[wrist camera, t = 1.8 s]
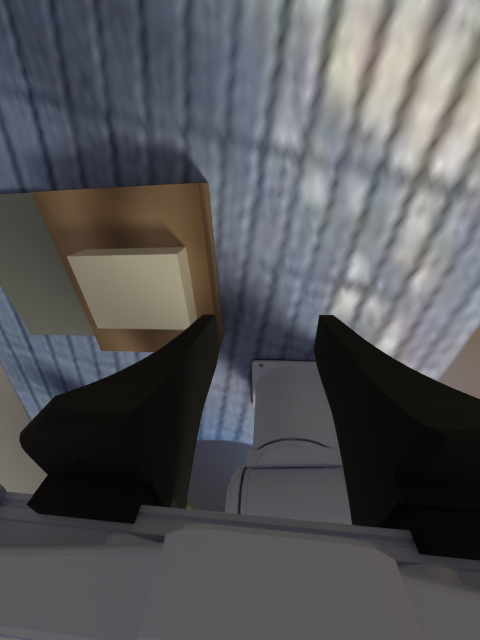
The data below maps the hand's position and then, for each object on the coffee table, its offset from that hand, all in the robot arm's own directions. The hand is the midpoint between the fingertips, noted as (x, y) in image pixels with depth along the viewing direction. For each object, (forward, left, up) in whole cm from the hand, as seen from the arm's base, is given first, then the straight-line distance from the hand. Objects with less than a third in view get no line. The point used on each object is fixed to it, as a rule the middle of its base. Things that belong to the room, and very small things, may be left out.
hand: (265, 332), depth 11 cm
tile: (+10, +1, -7) cm, 12 cm away
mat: (+22, +1, -10) cm, 24 cm away
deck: (+10, +1, -10) cm, 15 cm away
